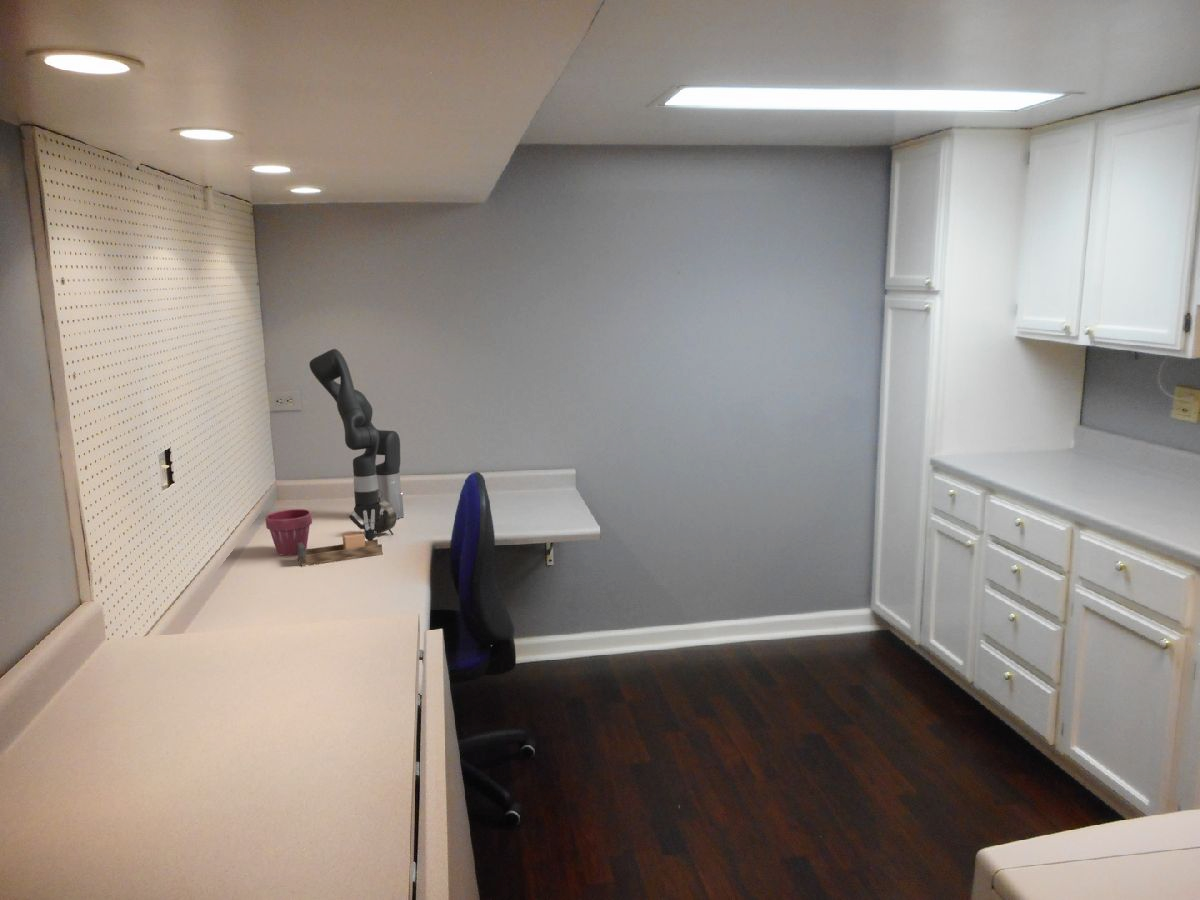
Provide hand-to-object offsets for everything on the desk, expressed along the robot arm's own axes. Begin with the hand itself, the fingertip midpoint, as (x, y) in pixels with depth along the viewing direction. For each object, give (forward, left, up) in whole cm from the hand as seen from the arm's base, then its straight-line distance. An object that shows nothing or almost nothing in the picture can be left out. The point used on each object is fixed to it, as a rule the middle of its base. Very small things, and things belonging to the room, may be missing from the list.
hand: (370, 540), depth 279 cm
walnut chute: (+10, 0, -4) cm, 10 cm away
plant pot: (+23, -14, -4) cm, 27 cm away
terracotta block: (+5, 0, -4) cm, 7 cm away
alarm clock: (-7, -20, -4) cm, 22 cm away
